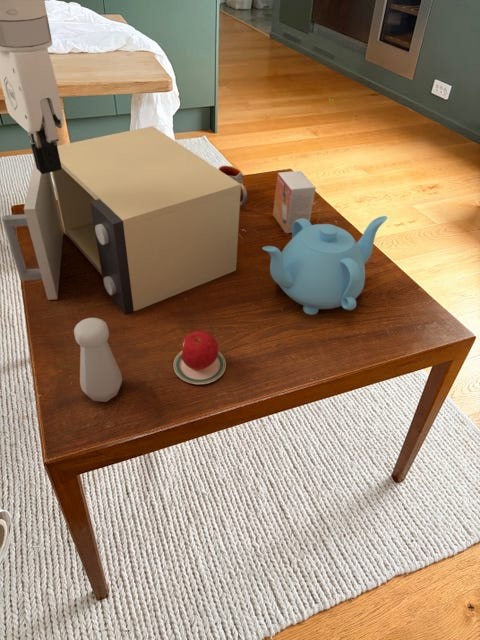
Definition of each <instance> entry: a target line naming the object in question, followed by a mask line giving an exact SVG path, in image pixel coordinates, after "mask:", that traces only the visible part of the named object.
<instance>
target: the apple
mask: <svg viewBox="0 0 480 640" xmlns="http://www.w3.org/2000/svg"><path fill="white" fill-rule="evenodd" d="M226 366H227V363H226V358H225V356H223V354H222V353H221V352H220V351H219V346H218V343H217V340H216V339H215V337H214V336H213V335H212V334H211V333H210V332H208V331H204V330H195V331H193V332H190V333H189V334H187V335H186V336H185V337H184V338H183V342H182V350H181V351H179V353H178V354H177V355H176V357H175V358H174V360H173V370H174V373H175V374H176V376H177V377H178V378H179V379H181V380H182V381H184V382H186V383H189V384H191V385H207V384H210V383H213V382H215V381H217V380H219V379H220V378H222V376H223V375H224V373H225V371H226Z"/></svg>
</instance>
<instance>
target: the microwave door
mask: <svg viewBox="0 0 480 640" xmlns="http://www.w3.org/2000/svg"><path fill="white" fill-rule="evenodd" d="M23 211H24V212H23V213H21V214H6V215H3V216H2V217H1V221H2V224H3V228H4V231H5V234H6V238H7V240H8V241H7V242H8V243H9V244H8V245H9V248H10V251H11V254H12V256H13V260H14V264H15V267H16V270H17V273H18V278H19V279H20V281H22V282H24V281H26V282H27V281H37V280H42V283H43V287H44V290H45V296H46V299H47V300H48V301H50V300H51V301H53V300H58V297H59V287H60V277H61V265H62V253H63V242H64V228H63V223H62V219H61V214H60V209H59V205H58V200H57V195H56V191H55V186H54V181H53V177H52V172H49V173H45V174H42V173H41V172H40V171H39V170H38V169H37V168H36V164H35V159H34V158H33V165H32V168H31V174H30V178H29V182H28V188H27V193H26V197H25V202H24V207H23ZM17 227H18V228H19V227H28V230H29V234H30V238H31V241H32V245H33V250H34V253H35V257H36V260H37V264H38V268H28V269H27V265H26V263H25V260H24V256H23V253H22V250H21V245H20V242H19V239H18V234H17V231H16V229H15V228H17Z"/></svg>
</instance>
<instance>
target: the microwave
mask: <svg viewBox="0 0 480 640" xmlns="http://www.w3.org/2000/svg"><path fill="white" fill-rule="evenodd" d="M57 147H58V152H59V157H60V162H61V167H62V168H61V170H58V171H54V172H51V177H52V182H53V186H54V191H55V196H56V200H57V205H58V210H59V215H60V219H61V224H62V229H63V234H65V235H66V237H68V238H69V240H70V241H71V243H73V244H74V246H75V247H76V248H77V249H78V250H79V251H80V252H81V253H82V255H83V256H84V257H85V258H86V259H87V261H89V263H90V264H91V265H92V266H93V267H94V268H95V269H96V270H97V271H98V273H99V274H100V275H101V276H102V282H103V288H104V289H103V290H104V292H106V293H107V295H108V296H109V297H110V298H111V299H112V301H114V303H115V304H116V305H117V306H118V307H119V309H120V310H121V311H122V313H124V314H125V315H127V314H129V313H132V312H136V311H139V310H142V309H144V308H146V307H149V306H152V305H154V304H156V303H159V302H161V301H165V300H167V299H169V298H171V297H174V296H176V295H179V294H181V293H183V292H186V291H189V290H191V289H194V288H196V287H198V286H201V285H203V284H206V283H209V282H211V281H213V280H216V279H219V278H221V277H223V276H227V275H229V274H231V273H234V272H236V271H237V259H238V240H239V225H240V209H241V207H240V202H241V197H240V192H241V184H240V183H238V182H237V181H235V180H234V179H232V178H230V177H229V176H227V175H226V174H224V173H223V172H221V171H220V170H218V169H219V168H217V167H215V166H214V165H213V164H211V163H209V162H208V161H206V160H205V159H203V158H202V157H200V156H199V155H198V154H196V153H194V152H193V151H191V150H190V149H188V148H186V147H184V145H182V144H181V143H179V142H177V141H176V140H174V139H173V138H171V137H170V136H168V135H167V134H165V133H164V132H162V131H161V130H160V129H157V128H156V127H154V126H153V125H151V126H146V127H142V128H136V129H132V130H131V129H130V130H127V131H123V132H117V133H112V134H107V135H103V136H97V137H93V138H88V139H84V140H79V141H73V142H69V143H64V144H60V145H57Z"/></svg>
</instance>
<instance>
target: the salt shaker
mask: <svg viewBox="0 0 480 640" xmlns="http://www.w3.org/2000/svg"><path fill="white" fill-rule="evenodd" d="M73 335H74V340H75V342H76V344H78V345H79V346H80V355H79V356H80V358H79V359H80V360H79V385H80V389H81V391H82V392H83V393H84V394H85V395H86V396H87V397H88V398H90V399H91V400H92V401H93V402H103V403H107V402H108V401H111V399H113V398H115V397H116V396H117V395H118V393H119V391H120V388H121V386H122V383H123V376H122V372H121V370H120V367H119V366H118V363H117V361H116V358H115V356H114V354H113V352H112V349H111V347H110V345H109V343H108V339H109V336H110V331H109V327H108V324H107V322H106V321H105V320H103V319H101V318H98V317H88V318H85V319H82V320H80V321H79V322H78V323H77V324H76V325H75V327H74V329H73Z"/></svg>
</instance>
